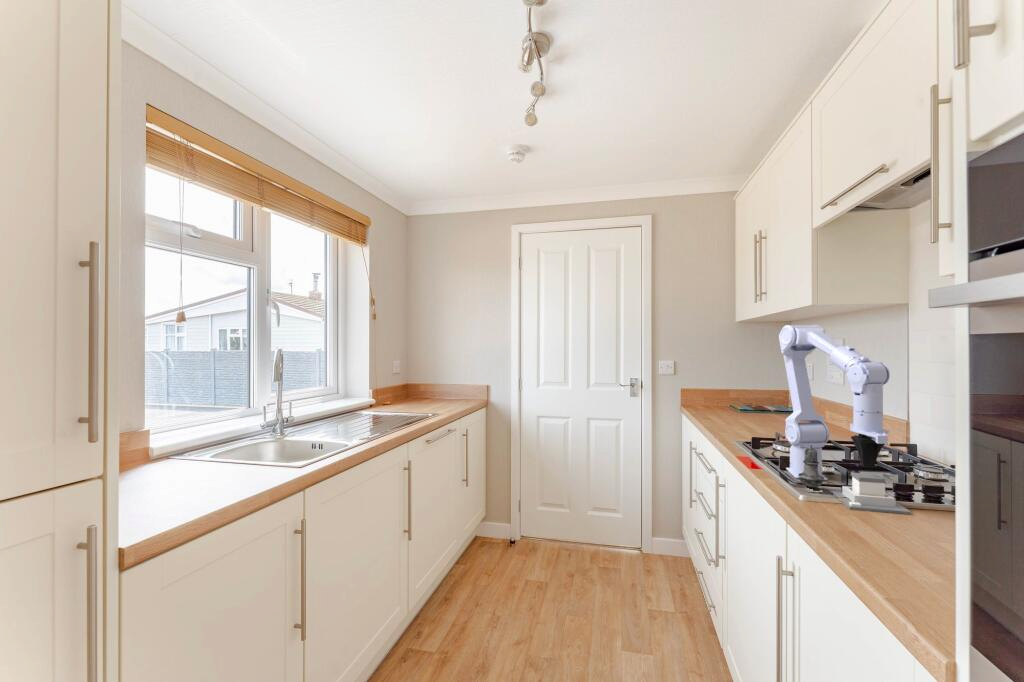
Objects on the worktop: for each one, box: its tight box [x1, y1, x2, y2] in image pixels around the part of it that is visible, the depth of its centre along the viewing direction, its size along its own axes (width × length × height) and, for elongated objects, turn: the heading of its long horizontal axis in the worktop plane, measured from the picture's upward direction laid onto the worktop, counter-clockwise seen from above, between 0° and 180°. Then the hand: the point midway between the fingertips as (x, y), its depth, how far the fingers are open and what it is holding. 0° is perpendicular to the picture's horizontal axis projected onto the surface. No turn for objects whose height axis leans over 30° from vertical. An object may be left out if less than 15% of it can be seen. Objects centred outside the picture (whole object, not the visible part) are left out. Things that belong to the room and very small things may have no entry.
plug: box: [851, 472, 886, 497], centre depth 111 cm, size 4×5×6 cm
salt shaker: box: [798, 445, 825, 491], centre depth 120 cm, size 6×6×12 cm
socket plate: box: [829, 485, 912, 516], centre depth 111 cm, size 12×12×3 cm
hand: (867, 466), depth 111 cm, fingers closed
